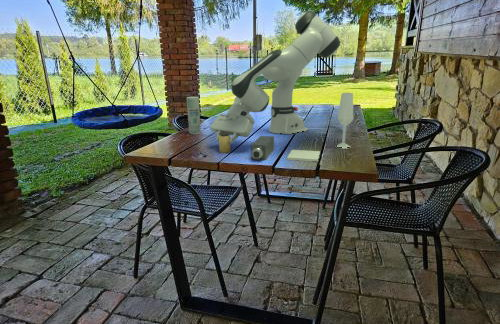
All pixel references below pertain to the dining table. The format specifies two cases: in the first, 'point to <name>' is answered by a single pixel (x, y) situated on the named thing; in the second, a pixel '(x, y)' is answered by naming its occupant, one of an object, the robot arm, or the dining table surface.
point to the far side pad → (303, 155)
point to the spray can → (193, 115)
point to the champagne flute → (345, 114)
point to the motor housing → (262, 147)
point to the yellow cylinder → (224, 143)
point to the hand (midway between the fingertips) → (223, 141)
